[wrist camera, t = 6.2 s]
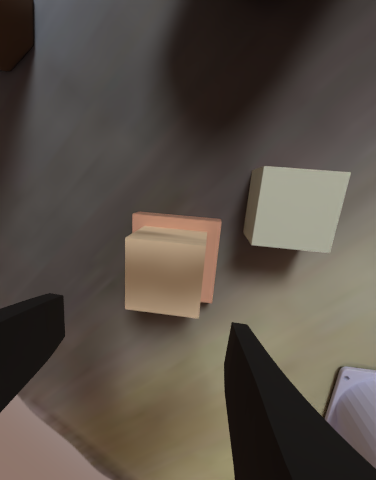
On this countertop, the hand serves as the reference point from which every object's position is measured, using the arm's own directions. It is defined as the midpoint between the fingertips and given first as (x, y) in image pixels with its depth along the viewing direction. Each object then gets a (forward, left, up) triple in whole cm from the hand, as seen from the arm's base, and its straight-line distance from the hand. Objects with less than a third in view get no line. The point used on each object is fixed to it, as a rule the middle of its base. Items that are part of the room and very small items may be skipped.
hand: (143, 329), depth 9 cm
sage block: (+5, -8, -11) cm, 14 cm away
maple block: (0, 0, -9) cm, 9 cm away
